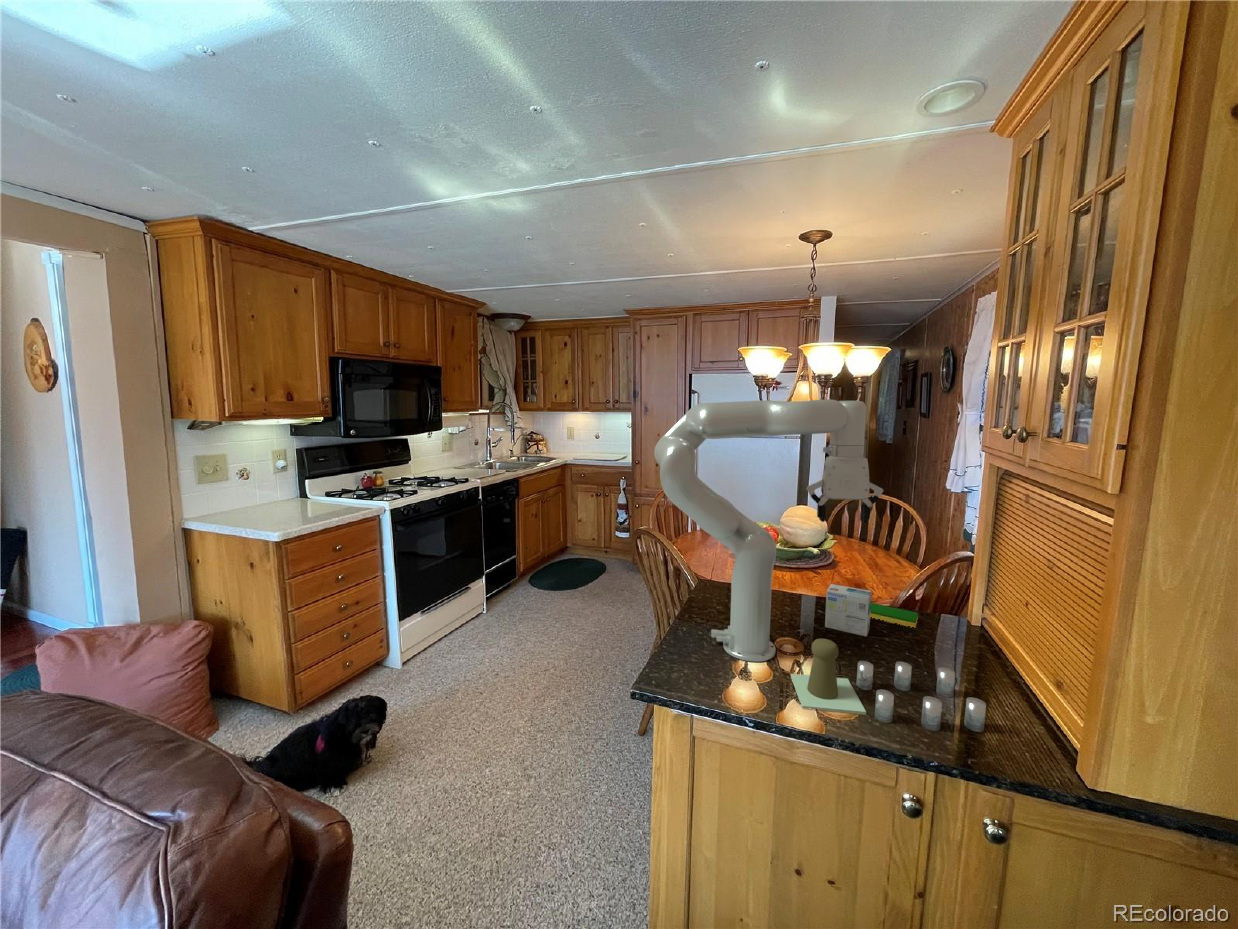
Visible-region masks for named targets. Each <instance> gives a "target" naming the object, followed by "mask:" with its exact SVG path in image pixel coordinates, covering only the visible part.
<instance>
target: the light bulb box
mask: <svg viewBox="0 0 1238 929" xmlns="http://www.w3.org/2000/svg"><path fill="white" fill-rule="evenodd" d="M825 595H826V596H825V618H824V628H827V629H832V630H837V631H839V632H840V631H841V632H845V633H850V634H853V635H859V636H862V637H867V636H868V634H869V631H870V626H871V624H870V623H871V618H870V610H871V603H872V590H868V589H862V588H856V587H850V586H845V585H844V586H843V585H840V584H839V585H838V584H834V583H830V585H829V586H828V588H827V590H826V594H825Z"/></svg>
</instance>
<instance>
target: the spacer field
mask: <svg viewBox="0 0 1238 929" xmlns="http://www.w3.org/2000/svg"><path fill="white" fill-rule="evenodd" d="M894 668H895V669H894V679H893V680H894V683H893V686H894V687H895V689H897V690H899V691H902V692H907V691H910V690H911V682H912V681H911V680H912V668H913V666H912V665H911V664H909V663H908V662H905V661H896V662H895V666H894ZM873 677H874V663H871V662H869V661H866V660H859V661H858V662H857V672H856V683H855V685H856V686H857V688H859V689H861V690H864V691H870V690H872V689H873V679H874V678H873ZM955 678H956V672H955V671H954V670H953V669H952V668H948V667H944V666H941V667H938V668H937V675H936V679H937V680H936V689H935V692H936V693H937V694H938V695H940V696H942V697H944V698H953V697H954V692H955V691H954V689H955V681H956V680H955ZM875 692H876V693H875V705H874V706H875V707H874V718H875V719H876V720H878V721H879V722H882V723H884V724H890V723H892V722H893V714H894V703H895V702H894V701H895V700H894V699H895V695H894V694H893V693H892V692H891V691H890V690H887V689H877V690H876V691H875ZM942 710H943V703H942V701H941V700H940V699H938V698H936V697H933V696H928V695H927V696H926V695H925V696H923V698H922V708H921V722H920V723H921V725H922V727H923V728H924V729H927V730H929V731H933V732H937V731H940V730H941V723H942V722H941V720H942V718H941V717H942ZM964 711H965V712H964V721H963V722H964V723H963V724H964V726H965V728H967V729H969V730H970V731H972V732H976V733H977V732H978V733H982V732H984V731H985V730H984V729H985V720H986V713H987V712H986V711H987V704H986V702H985V701H984V700H982V699H979V698H978V697H971V696H970V697H969V696H968V697H967V698H966V700H965V709H964Z"/></svg>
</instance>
